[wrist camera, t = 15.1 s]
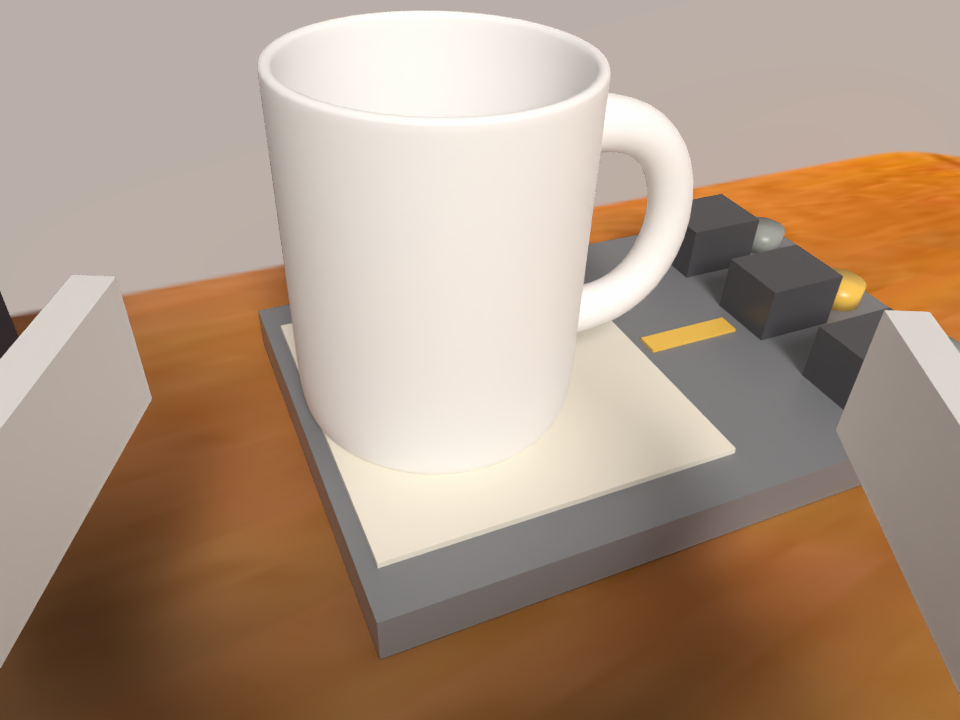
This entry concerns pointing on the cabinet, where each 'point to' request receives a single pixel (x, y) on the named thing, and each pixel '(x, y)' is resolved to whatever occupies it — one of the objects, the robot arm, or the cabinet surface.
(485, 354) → the mug
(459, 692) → the cabinet surface
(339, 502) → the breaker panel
